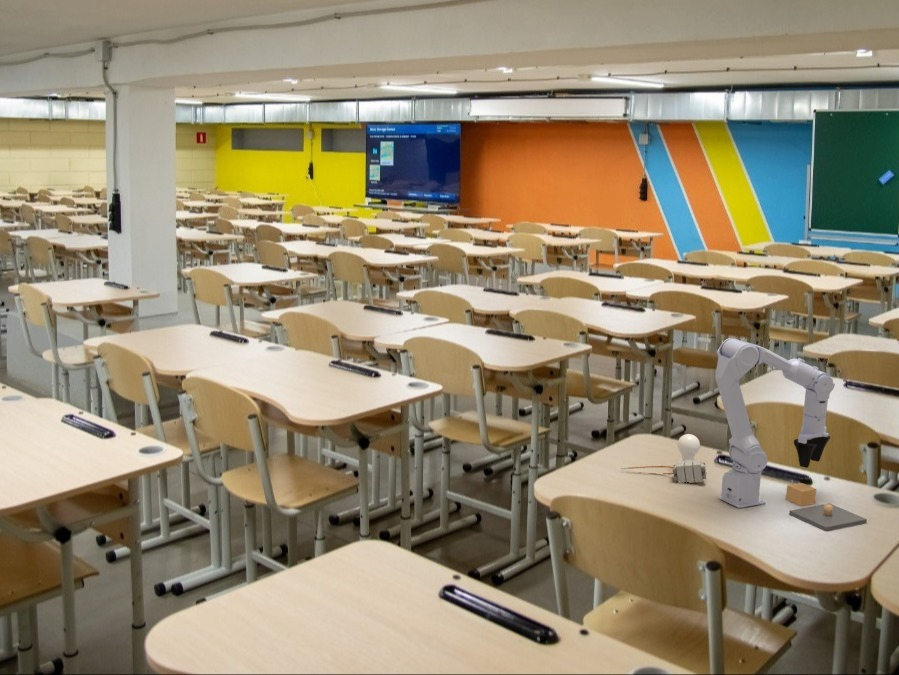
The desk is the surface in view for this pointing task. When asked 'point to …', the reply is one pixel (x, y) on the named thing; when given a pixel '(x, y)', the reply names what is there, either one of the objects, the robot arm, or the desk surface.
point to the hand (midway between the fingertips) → (809, 463)
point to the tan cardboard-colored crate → (801, 494)
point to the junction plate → (827, 517)
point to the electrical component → (685, 471)
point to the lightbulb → (688, 446)
